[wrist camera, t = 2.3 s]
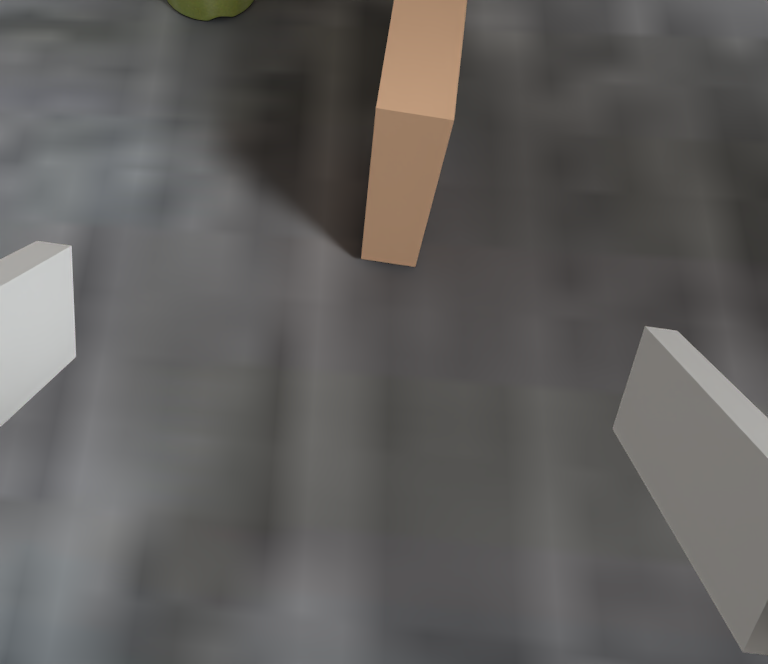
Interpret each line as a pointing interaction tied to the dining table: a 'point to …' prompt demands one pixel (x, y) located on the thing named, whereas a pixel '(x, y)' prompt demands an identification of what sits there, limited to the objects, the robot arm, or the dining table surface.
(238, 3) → the plant pot
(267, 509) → the dining table surface
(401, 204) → the tan rectangular block
